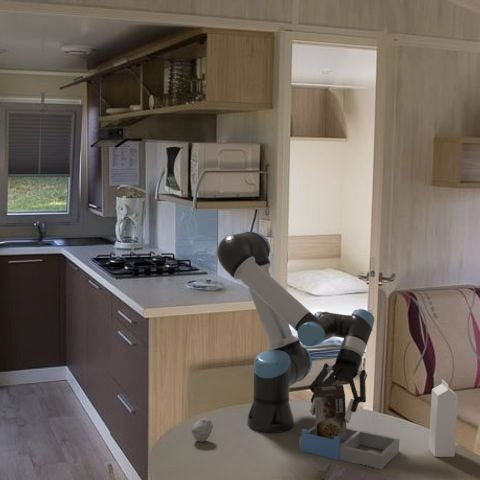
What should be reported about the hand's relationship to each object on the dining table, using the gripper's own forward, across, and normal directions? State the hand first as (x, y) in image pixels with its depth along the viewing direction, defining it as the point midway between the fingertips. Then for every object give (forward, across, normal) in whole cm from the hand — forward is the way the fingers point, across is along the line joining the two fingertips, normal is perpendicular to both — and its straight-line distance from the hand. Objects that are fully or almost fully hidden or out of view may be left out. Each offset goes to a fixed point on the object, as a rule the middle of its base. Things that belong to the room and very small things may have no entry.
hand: (329, 416), depth 223 cm
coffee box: (+3, 0, -7) cm, 8 cm away
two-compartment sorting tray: (+5, -6, -9) cm, 12 cm away
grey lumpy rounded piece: (+18, +36, +3) cm, 40 cm away
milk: (-4, -30, -20) cm, 36 cm away
